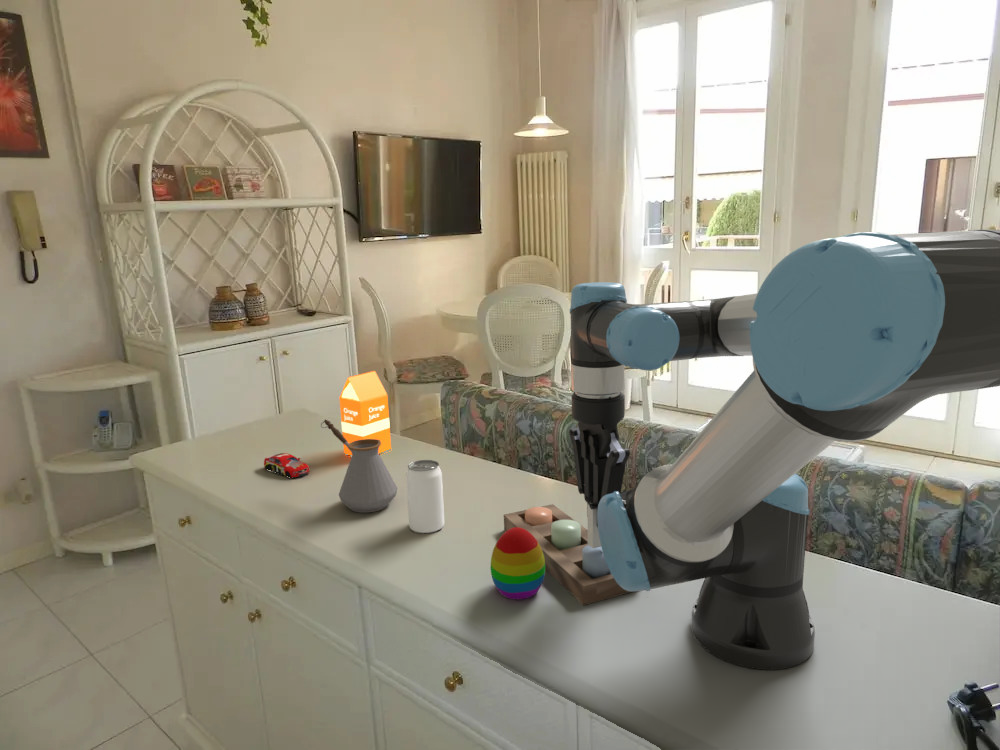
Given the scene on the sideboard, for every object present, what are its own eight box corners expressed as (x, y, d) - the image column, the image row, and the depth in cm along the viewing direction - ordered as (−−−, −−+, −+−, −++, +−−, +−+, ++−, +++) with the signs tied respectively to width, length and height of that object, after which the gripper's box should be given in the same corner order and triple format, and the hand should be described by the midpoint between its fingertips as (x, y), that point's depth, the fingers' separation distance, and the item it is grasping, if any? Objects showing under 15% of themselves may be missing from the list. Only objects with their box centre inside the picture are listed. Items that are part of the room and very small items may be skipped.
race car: (314, 475, 156) (312, 458, 155) (293, 482, 152) (291, 465, 151) (281, 463, 164) (280, 447, 163) (261, 469, 160) (259, 453, 159)
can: (438, 535, 122) (435, 471, 120) (404, 533, 123) (400, 470, 121) (448, 520, 128) (445, 459, 126) (415, 518, 130) (412, 458, 127)
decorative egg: (505, 572, 108) (503, 513, 106) (553, 582, 105) (552, 522, 103) (482, 598, 101) (479, 535, 99) (533, 609, 98) (531, 545, 95)
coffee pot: (409, 504, 136) (404, 432, 133) (359, 522, 129) (353, 446, 126) (353, 478, 152) (348, 413, 149) (305, 493, 144) (299, 424, 141)
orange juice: (391, 450, 170) (386, 372, 166) (364, 460, 163) (358, 379, 159) (370, 445, 175) (364, 368, 170) (343, 454, 168) (336, 375, 164)
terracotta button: (557, 534, 120) (556, 514, 120) (532, 539, 118) (532, 520, 118) (544, 524, 125) (544, 505, 124) (520, 529, 123) (520, 510, 122)
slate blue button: (620, 577, 102) (620, 554, 101) (593, 584, 100) (593, 561, 99) (603, 563, 106) (603, 541, 106) (576, 570, 105) (576, 547, 104)
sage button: (586, 549, 111) (586, 528, 110) (560, 556, 109) (560, 534, 108) (571, 537, 115) (571, 517, 115) (546, 543, 114) (546, 523, 113)
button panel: (641, 588, 102) (641, 570, 101) (583, 605, 98) (583, 586, 98) (553, 519, 127) (552, 504, 127) (504, 530, 123) (503, 514, 123)
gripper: (647, 398, 93) (644, 557, 98) (596, 380, 105) (596, 523, 110) (599, 405, 90) (599, 569, 95) (553, 386, 102) (555, 532, 107)
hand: (598, 544), depth 102 cm, fingers closed
